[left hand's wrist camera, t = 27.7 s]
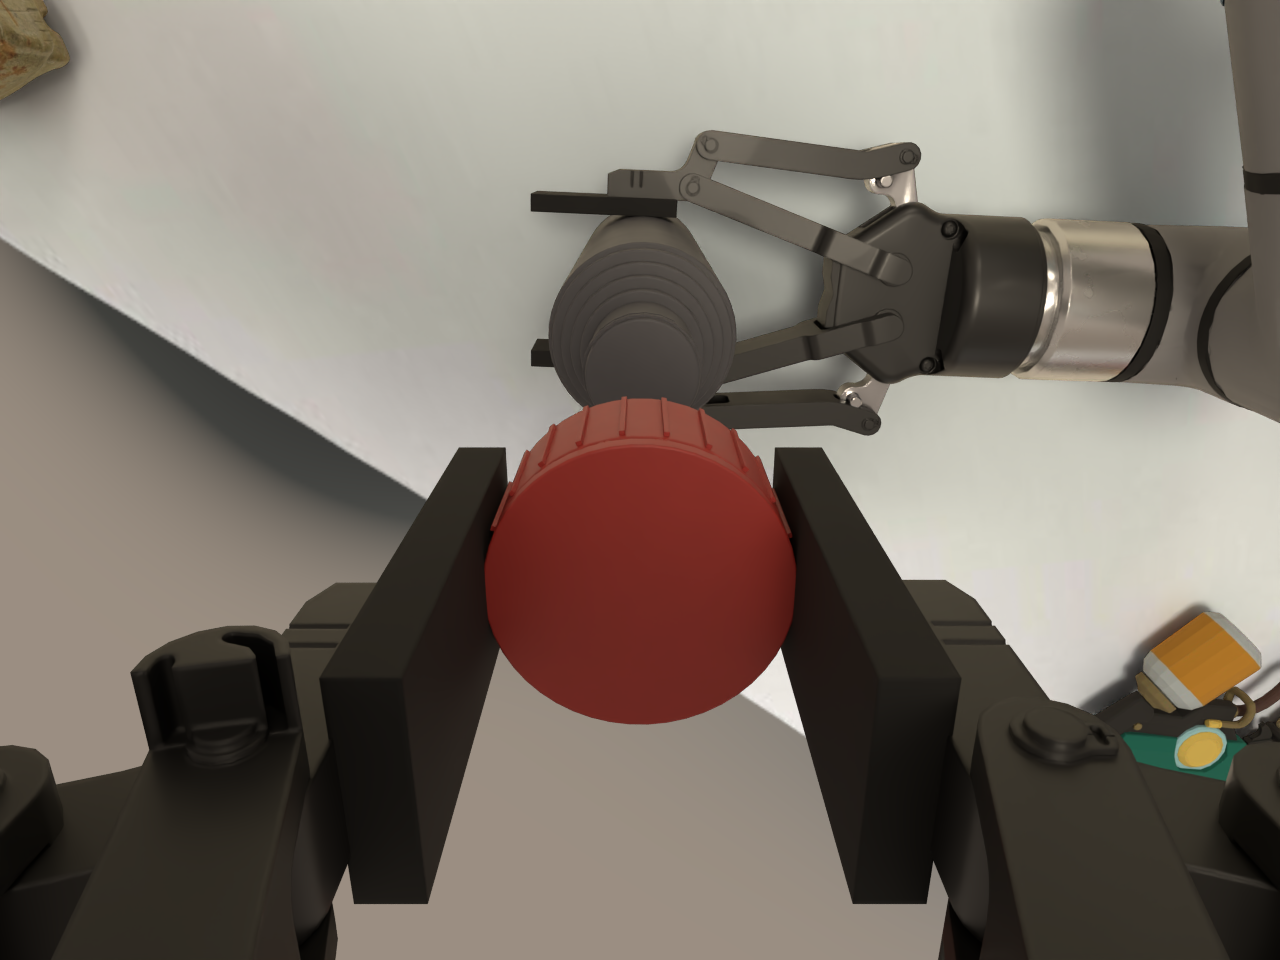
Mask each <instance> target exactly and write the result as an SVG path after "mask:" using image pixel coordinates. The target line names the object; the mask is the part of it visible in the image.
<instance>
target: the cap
mask: <svg viewBox="0 0 1280 960" xmlns="http://www.w3.org/2000/svg"><path fill="white" fill-rule="evenodd" d="M490 530H491V531H494V533H493V535H492V538H491V541H490V543H489V546H488V550H487V554H486V558H485V562H484V571H485V586H486V600H487V613H488V621H489V624H490V627H491V629H492V632H493V635H494V637H495V639H496V641H497V643H498V645H499V646H500V648H501V650H502V652H503V653H504V655H505V656H506V658H507V659H508V660H509V662H510V663H511V664H512V666H513V667H514V668H515V670H516V671H517V672H518V673H519V674H520V675H521V676H522V677H523V678H524V679H525V680H526V681H527V682H528V683H529V684H531V685H532V686H533V687H534V688H535V689H537V690H538V691H539V692H540V693H542V694H543V695H545V696H546V697H548V698H550V699H551V700H553V701H554V702H556V703H558V704H560V705H562V706H564V707H566V708H568V709H570V710H572V711H574V712H577V713H580V714H583V715H585V716H588V717H591V718H596V719H600V720H604V721H608V722H615V723H623V724H657V723H667V722H672V721H677V720H682V719H686V718H689V717H692V716H695V715H698V714H701V713H704V712H707V711H709V710H711V709H713V708H715V707H717V706H719V705H722V704H723V703H725V702H726V701H728V700H730V699H731V698H733V697H735V696H736V695H738V694H739V693H740V692H742V691H743V690H744V689H745V688H747V687H748V686H749V685H750V684H752V683H753V682H754V681H755V680H756V679H757V678H758V677H759V676H760V675H761V674H762V673H763V672H764V670H765V669H766V668H767V667H768V665H769V664H770V663H771V661H772V660H773V659H774V657H775V656H776V655H777V653H778V651H779V649H780V647H781V646H782V644H783V642H784V640H785V639H786V636H787V633H788V631H789V628H790V626H791V623H792V620H793V610H794V597H795V583H796V561H795V557H794V552H793V548H792V545H791V543H790V540H789V538H792V533H791V530H790V528H789V525H788V523H787V520H786V517H785V515H784V512H783V510H782V507H781V505H780V502H779V499H778V497H777V494H776V492H775V489H774V488H771V485H770V482H769V480H768V477H767V475H766V472H765V469H764V467H763V464H762V462H761V459H760V457H759V456H756V457H755V456H754V455H753V454H752V452H751V451H750V450H749V448H748V447H747V446H746V445H745V444H744V443H743V442H742V441H741V440H740V439H739V437H738V434H737V431H736V430H735V429H733V428H732V429H731V430H729V429H728V428H727V427H726V426H724V425H723V424H722V423H720V422H719V421H717V420H715V419H714V418H712V417H710V416H708V415H707V414H705V411H704V410H703V409H701V408H699V410H696V409H693V408H691V407H688V406H685V405H681V404H678V403H674V402H670V401H667V398H663V397H662V398H661V400H659V399H658V400H657V399H627V396H625V397H621V400H616V401H611V402H607V403H603V404H599V405H595V406H593V407H590V408H589V406H588V405H587V406H585V407H583V411H580V412H578V413H576V414H574V415H573V416H571V417H569V418H567V419H565V420H563V421H562V422H561V423H559V424H558V425H557V426H555V424H552V425H551V426H550V428H549V431H548V433H547V434H546V435H545V436H544V437H542V438H541V439H540V440H539V441H538V442H537V443H536V445H535V446H534V447H533V448H532V450H531V451H530V452H529V451H528V450H526V452H525V453H524V455H523V458H522V460H521V463H520V465H519V468H518V471H517V473H516V476H515V478H514V481H513V483H512V482H509V483H508V486H507V488H506V491H505V493H504V496H503V498H502V501H501V503H500V506H499V508H498V511H497V513H496V516H495V518H494V521H493V523H492V526H491V528H490Z"/></svg>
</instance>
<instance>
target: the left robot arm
mask: <svg viewBox="0 0 1280 960" xmlns="http://www.w3.org/2000/svg"><path fill="white" fill-rule="evenodd" d="M507 486H508V481H507V464H506V448H458V450H457V452H456V453H455V455H454V457H453V458H452V460H451V461H450V463H449V465H448V466H447V468H446V470H445V471H444V473H443V475H442V476H441V478H440V480H439V481H438V483H437V485H436V486H435V488H434V489H433V491H432V493H431V494H430V496H429V498H428V499H427V501H426V503H425V504H424V506H423V508H422V509H421V511H420V513H419V514H418V516H417V517H416V519H415V521H414V522H413V524H412V526H411V527H410V529H409V531H408V532H407V534H406V536H405V537H404V539H403V541H402V542H401V544H400V546H399V547H398V549H397V550H396V552H395V554H394V555H393V557H392V559H391V560H390V562H389V564H388V565H387V567H386V569H385V570H384V572H383V573H382V575H381V577H380V579H379V580H378V582H377V583H335V584H333V585H332V586H330V587H329V588H327V589H325V590H324V591H322V592H321V593H319V594H318V595H316V596H315V597H313V598H311V599H310V600H308V601H307V602H306V603H305V604H304V605H303V607H302V608H301V609H300V611H299V612H298V614H297V615H296V616H295V618H294V619H293V620H292V622H291V623H290V627H289V629H286V630H285V631H284V633H283V634H282V635H281V634H279V633H278V632H277V631H275V630H271V629H267V628H263V627H258V626H225V627H220V628H214V629H209V630H204V631H199V632H196V633H193V634H190V635H188V636H185V637H182V638H179V639H176V640H174V641H171V642H168V643H167V644H165V645H164V646H162V647H160V648H158V649H157V650H155V651H153V652H152V653H150V654H148V655H147V656H145V657H144V658H143V659H142V660H141V661H140V663H139V664H138V665H137V666H136V667H135V668H134V669H133V670H132V671H131V677H132V681H133V685H134V689H135V693H136V697H137V701H138V706H139V710H140V714H141V718H142V721H143V726H144V730H145V734H146V738H147V742H148V746H149V752H148V754H147V756H146V758H145V760H144V763H143V765H142V766H140V767H136V768H132V769H129V770H125V771H121V772H116V773H111V774H106V775H101V776H96V777H92V778H86V779H82V780H77V781H72V782H67V783H62V784H57V785H56V783H55V780H54V777H53V773H52V770H51V767H50V763H49V760H48V759H47V758H46V757H45V756H43V755H42V754H41V753H40V752H39V751H37V750H36V749H32V748H26V747H20V746H14V745H9V746H0V960H335V958H336V949H337V941H338V937H337V930H336V923H335V916H334V910H333V904H332V901H333V898H334V896H335V893H336V891H337V889H338V886H339V884H340V881H341V879H342V876H343V874H344V872H345V869H346V867H347V864H348V868H349V874H350V881H351V887H352V894H353V900H354V904H428V901H429V897H430V894H431V890H432V887H433V883H434V880H435V876H436V873H437V869H438V865H439V862H440V858H441V855H442V851H443V848H444V844H445V841H446V837H447V833H448V830H449V826H450V823H451V819H452V816H453V812H454V808H455V805H456V801H457V798H458V794H459V791H460V787H461V784H462V780H463V777H464V773H465V769H466V766H467V762H468V759H469V755H470V752H471V748H472V745H473V741H474V737H475V734H476V730H477V727H478V723H479V720H480V716H481V713H482V709H483V705H484V702H485V698H486V695H487V691H488V688H489V684H490V680H491V677H492V673H493V670H494V666H495V663H496V659H497V656H498V652H499V649H500V646H499V645H498V643H497V641H496V639H495V637H494V635H493V632H492V629H491V627H490V624H489V621H488V613H487V600H486V586H485V571H484V562H485V558H486V554H487V550H488V546H489V543H490V541H491V538H492V535H493V533H494V531H491V530H490V528H491V526H492V523H493V521H494V518H495V516H496V513H497V511H498V508H499V506H500V503H501V501H502V498H503V496H504V493H505V491H506V488H507ZM773 488H774V489H775V492H776V494H777V497H778V499H779V502H780V505H781V507H782V510H783V512H784V515H785V517H786V520H787V523H788V525H789V528H790V530H791V533H792V538H789V540H790V543H791V545H792V548H793V552H794V557H795V561H796V583H795V597H794V610H793V620H792V623H791V626H790V628H789V631H788V633H787V636H786V639H785V640H784V642H783V644H782V646H781V650H782V654H783V657H784V661H785V664H786V668H787V671H788V675H789V679H790V682H791V686H792V689H793V693H794V696H795V700H796V703H797V707H798V711H799V714H800V718H801V721H802V725H803V728H804V732H805V735H806V739H807V742H808V746H809V749H810V753H811V757H812V760H813V764H814V767H815V771H816V775H817V778H818V782H819V785H820V789H821V792H822V796H823V799H824V803H825V807H826V810H827V814H828V817H829V821H830V824H831V828H832V831H833V835H834V838H835V842H836V846H837V849H838V853H839V856H840V860H841V863H842V867H843V871H844V874H845V878H846V881H847V885H848V888H849V892H850V895H851V899H852V903H853V904H926V903H927V897H928V891H929V885H930V878H931V872H932V865H933V861H934V863H935V866H936V868H937V870H938V873H939V875H940V878H941V880H942V883H943V885H944V887H945V890H946V892H947V895H948V897H949V898H948V904H947V910H946V916H945V922H944V928H943V934H942V940H941V946H940V952H939V958H938V960H1280V742H1272V741H1269V742H1263V743H1256V744H1250V745H1246V746H1245V747H1244V748H1242V749H1241V750H1240V751H1239V752H1237V753H1236V754H1235V755H1234V756H1233V759H1232V762H1231V766H1230V769H1229V772H1228V776H1227V779H1226V781H1223V780H1218V779H1213V778H1209V777H1204V776H1199V775H1194V774H1189V773H1184V772H1179V771H1174V770H1169V769H1164V768H1159V767H1156V766H1152V765H1148V764H1144V763H1140V762H1137V761H1136V759H1135V757H1134V755H1133V753H1132V750H1131V749H1130V747H1129V746H1128V745H1127V743H1126V742H1125V741H1124V740H1123V738H1122V737H1121V736H1120V734H1119V733H1118V732H1117V731H1116V730H1115V729H1113V728H1112V727H1110V726H1109V725H1107V724H1106V723H1105V722H1103V721H1102V720H1100V719H1099V718H1097V717H1096V716H1095V715H1092V714H1090V713H1088V712H1085V711H1083V710H1080V709H1078V708H1076V707H1073V706H1071V705H1069V704H1066V703H1061V702H1057V701H1052V700H1050V699H1049V698H1048V696H1047V695H1046V694H1045V692H1044V691H1043V690H1042V688H1041V687H1040V686H1039V684H1038V683H1037V682H1036V680H1035V679H1034V678H1033V676H1032V675H1031V674H1030V672H1029V671H1028V670H1027V668H1026V667H1025V666H1024V664H1023V663H1022V662H1021V660H1020V659H1019V657H1018V656H1017V655H1016V653H1015V652H1014V651H1013V649H1012V648H1011V647H1010V645H1006V643H1005V639H1004V637H1003V636H1002V635H1001V633H1000V632H999V631H998V629H997V628H996V627H995V626H992V621H991V620H990V619H989V617H988V616H987V614H986V613H985V612H984V610H983V609H982V608H981V606H980V605H979V604H978V602H977V601H976V600H975V599H974V598H973V597H971V596H969V595H968V594H966V593H965V592H963V591H962V590H960V589H958V588H957V587H955V586H954V585H952V584H951V583H949V582H947V581H946V580H902V579H901V577H900V576H899V574H898V572H897V571H896V569H895V568H894V566H893V564H892V563H891V561H890V559H889V558H888V556H887V554H886V553H885V551H884V549H883V548H882V546H881V544H880V543H879V541H878V540H877V538H876V536H875V535H874V533H873V531H872V530H871V528H870V526H869V525H868V523H867V521H866V520H865V518H864V516H863V515H862V513H861V512H860V510H859V508H858V507H857V505H856V503H855V502H854V500H853V498H852V497H851V495H850V493H849V492H848V490H847V488H846V487H845V485H844V484H843V482H842V480H841V479H840V477H839V475H838V474H837V472H836V470H835V469H834V467H833V465H832V464H831V462H830V460H829V459H828V457H827V456H826V454H825V452H824V451H823V449H822V448H775V457H774V474H773Z"/></svg>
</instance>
